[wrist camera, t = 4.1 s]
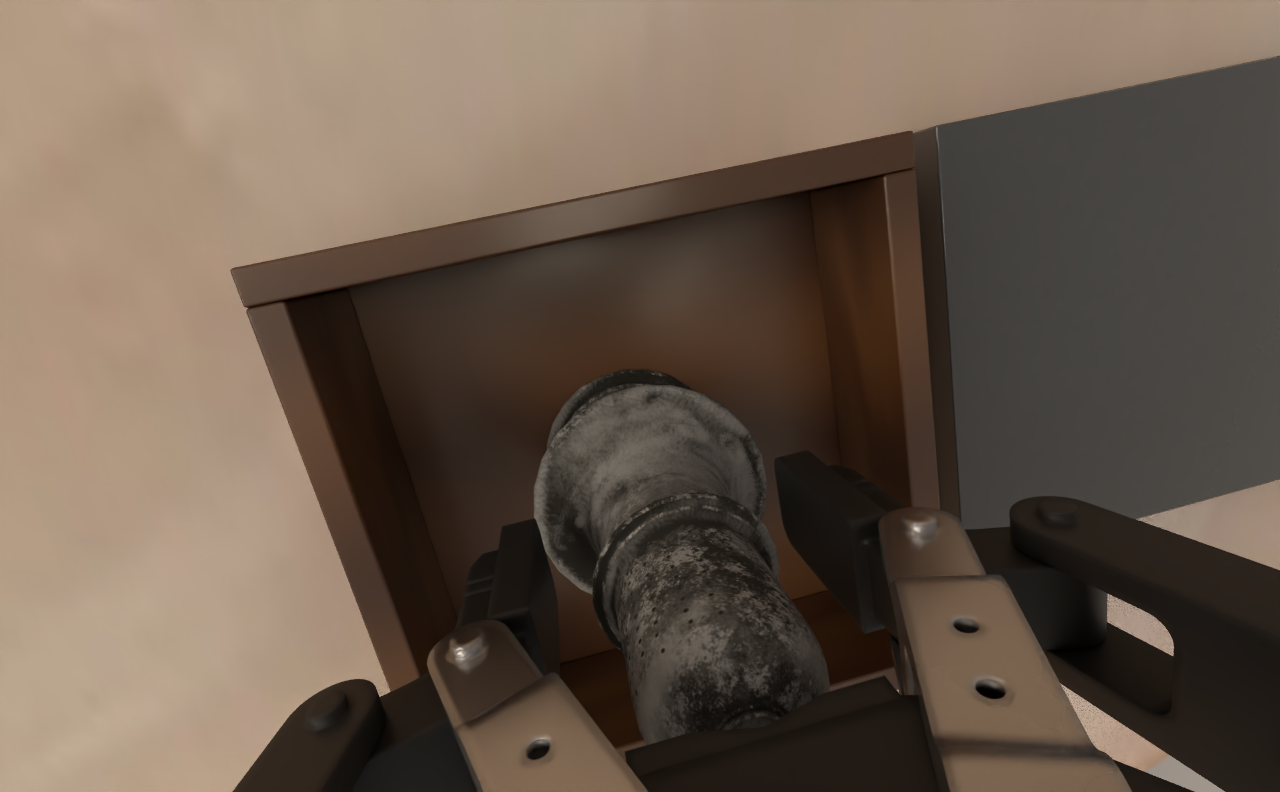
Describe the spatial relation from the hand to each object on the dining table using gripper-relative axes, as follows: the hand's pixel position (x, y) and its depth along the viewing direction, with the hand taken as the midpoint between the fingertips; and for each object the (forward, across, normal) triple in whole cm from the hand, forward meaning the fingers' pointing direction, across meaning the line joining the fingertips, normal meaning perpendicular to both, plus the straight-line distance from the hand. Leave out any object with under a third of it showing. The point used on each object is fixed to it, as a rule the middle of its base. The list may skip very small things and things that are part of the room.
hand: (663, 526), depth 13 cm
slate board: (+5, -20, 0) cm, 21 cm away
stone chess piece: (+5, 0, 0) cm, 5 cm away
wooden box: (+5, 0, 0) cm, 5 cm away
